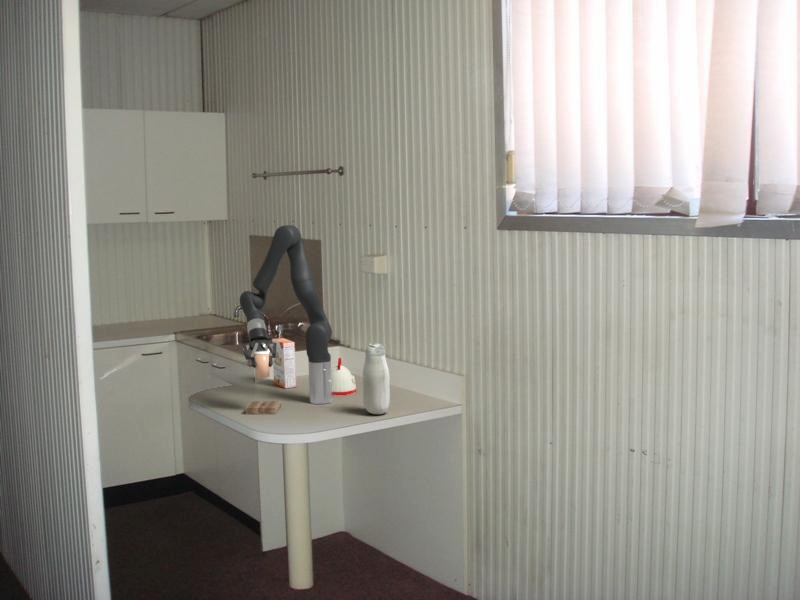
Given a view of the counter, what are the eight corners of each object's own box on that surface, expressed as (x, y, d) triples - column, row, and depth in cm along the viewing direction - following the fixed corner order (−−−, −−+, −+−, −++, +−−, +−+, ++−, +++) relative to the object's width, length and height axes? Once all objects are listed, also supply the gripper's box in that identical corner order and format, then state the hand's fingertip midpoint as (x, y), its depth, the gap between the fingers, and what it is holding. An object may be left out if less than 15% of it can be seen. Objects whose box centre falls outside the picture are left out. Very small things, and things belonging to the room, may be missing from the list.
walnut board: (281, 407, 376) (281, 401, 376) (275, 414, 364) (275, 407, 364) (252, 407, 377) (251, 401, 376) (245, 414, 365) (245, 408, 364)
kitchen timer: (357, 388, 409) (356, 355, 408) (355, 395, 396) (354, 361, 394) (326, 389, 410) (325, 355, 408) (322, 395, 396) (321, 361, 394)
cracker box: (273, 383, 424) (271, 338, 421) (285, 382, 427) (283, 337, 424) (284, 389, 411) (282, 342, 409) (296, 387, 414) (295, 341, 412)
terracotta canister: (270, 374, 372) (270, 350, 370) (268, 377, 366) (267, 353, 365) (256, 375, 372) (255, 350, 371) (253, 377, 366) (252, 353, 365)
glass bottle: (394, 413, 362) (393, 342, 358) (377, 418, 354) (375, 346, 351) (376, 409, 368) (375, 340, 365) (358, 414, 361) (356, 343, 357)
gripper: (240, 327, 372) (245, 362, 362) (275, 325, 376) (281, 359, 366) (238, 338, 377) (243, 372, 367) (273, 336, 381) (279, 370, 372)
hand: (262, 366), depth 367 cm, fingers closed on terracotta canister, 5 cm apart
